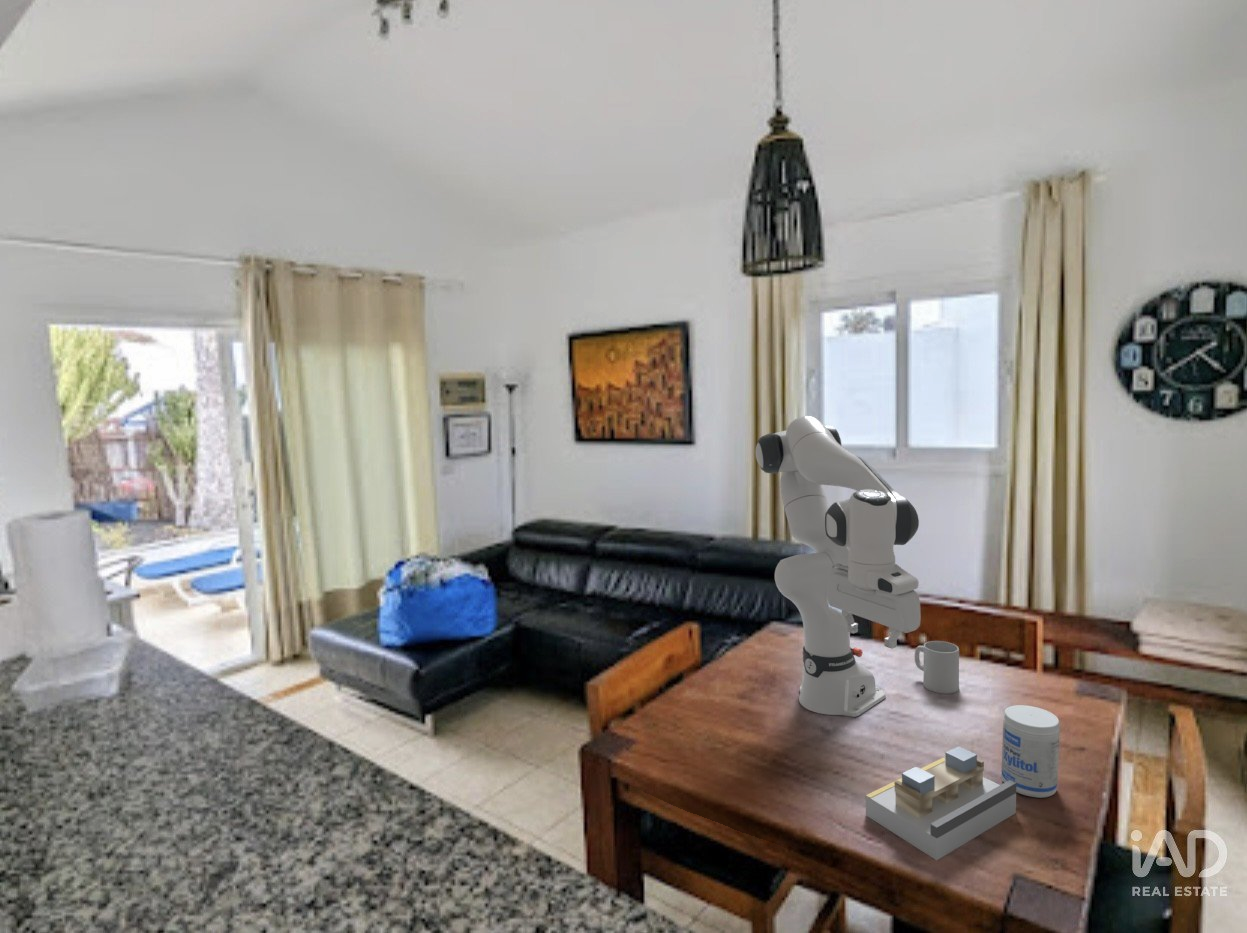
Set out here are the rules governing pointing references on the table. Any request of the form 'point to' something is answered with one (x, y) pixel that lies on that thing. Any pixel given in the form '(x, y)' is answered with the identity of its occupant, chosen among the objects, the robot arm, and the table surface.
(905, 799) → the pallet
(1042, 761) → the supplement tub
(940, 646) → the mug
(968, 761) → the block
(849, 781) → the table surface
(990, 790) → the dock
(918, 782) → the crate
